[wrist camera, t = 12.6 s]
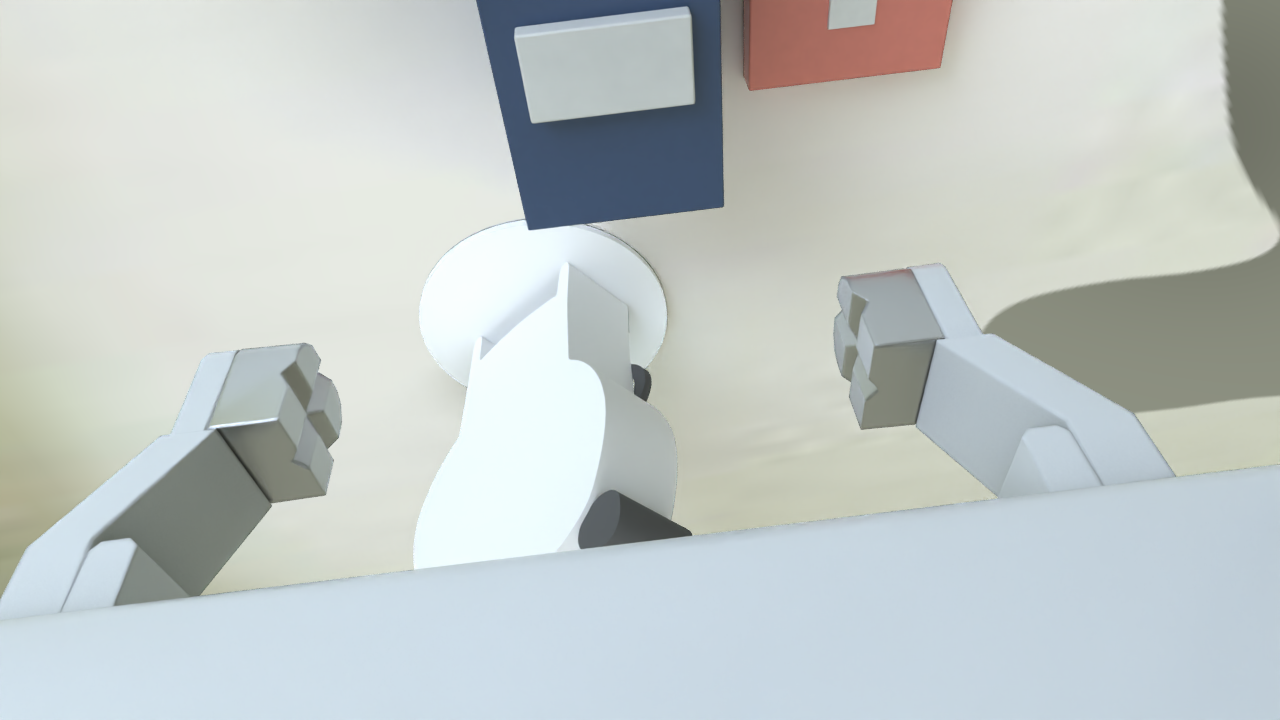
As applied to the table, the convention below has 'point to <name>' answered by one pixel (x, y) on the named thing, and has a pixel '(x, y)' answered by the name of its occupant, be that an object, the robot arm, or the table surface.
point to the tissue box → (609, 105)
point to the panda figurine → (547, 397)
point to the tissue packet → (840, 39)
